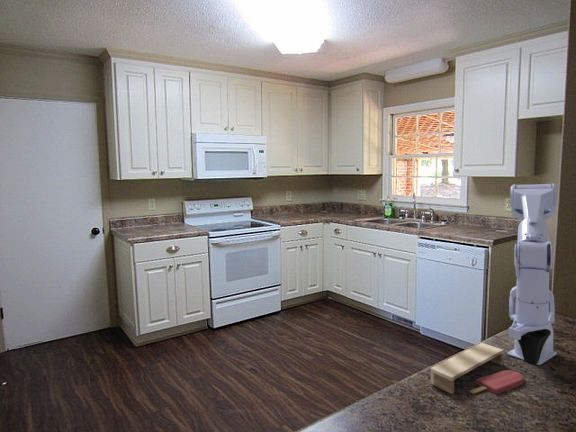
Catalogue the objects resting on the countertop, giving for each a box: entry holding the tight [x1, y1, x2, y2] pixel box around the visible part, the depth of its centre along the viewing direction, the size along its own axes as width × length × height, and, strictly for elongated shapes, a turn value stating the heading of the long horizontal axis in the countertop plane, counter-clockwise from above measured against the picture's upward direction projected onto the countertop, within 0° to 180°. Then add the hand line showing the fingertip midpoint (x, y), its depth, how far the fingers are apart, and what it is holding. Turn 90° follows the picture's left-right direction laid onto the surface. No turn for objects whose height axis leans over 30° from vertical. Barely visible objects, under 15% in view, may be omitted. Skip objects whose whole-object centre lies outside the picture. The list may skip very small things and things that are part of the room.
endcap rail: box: [430, 342, 504, 395], centre depth 98 cm, size 21×6×4 cm, turn 124°
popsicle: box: [469, 369, 525, 396], centre depth 93 cm, size 5×2×15 cm
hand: (531, 362), depth 85 cm, fingers closed
